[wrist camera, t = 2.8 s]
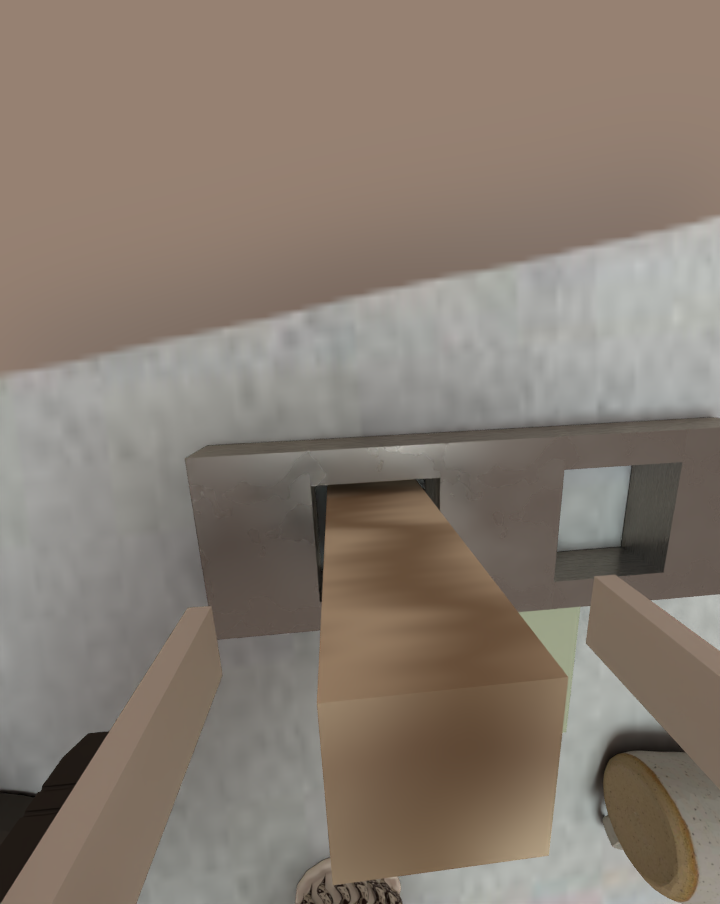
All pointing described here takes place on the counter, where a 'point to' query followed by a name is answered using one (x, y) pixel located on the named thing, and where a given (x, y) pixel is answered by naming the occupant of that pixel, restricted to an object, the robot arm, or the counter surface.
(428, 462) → the grey flat slotted plate
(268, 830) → the counter surface
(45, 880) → the robot arm
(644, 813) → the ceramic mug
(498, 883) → the counter surface
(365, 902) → the decorative candle
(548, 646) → the mat
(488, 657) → the peg
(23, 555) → the counter surface
